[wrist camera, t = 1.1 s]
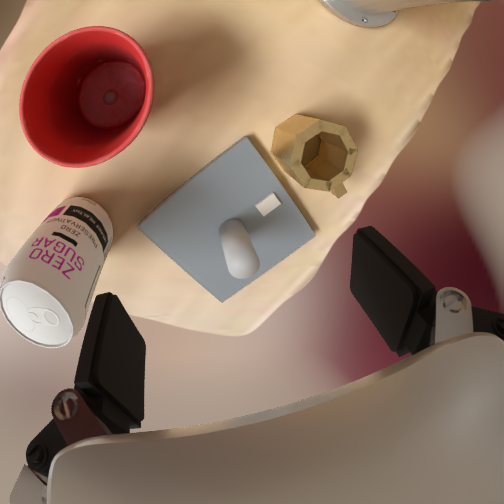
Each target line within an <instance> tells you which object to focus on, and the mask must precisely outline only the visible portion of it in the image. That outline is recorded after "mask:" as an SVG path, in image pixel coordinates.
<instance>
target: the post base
mask: <svg viewBox="0 0 504 504" xmlns="http://www.w3.org/2000/svg"><path fill="white" fill-rule="evenodd" d="M138 228H139V229H140V230H141V231H142V232H143V233H144V234H145V235H146V236H147V237H148V238H149V239H150V240H151V241H153V242H154V243H155V244H156V245H157V246H158V247H159V248H160V249H161V250H162V251H163V252H165V253H166V254H167V255H168V256H169V257H170V258H171V259H172V260H173V261H174V262H176V263H177V264H178V265H179V266H180V267H181V268H182V269H183V270H185V271H186V272H187V273H188V274H189V275H190V276H191V277H192V278H194V279H195V280H196V281H197V282H198V283H199V284H201V285H202V286H203V287H204V288H205V289H206V290H207V291H209V292H210V293H211V294H212V295H213V296H215V297H216V298H217V299H218V300H219V301H220V302H224V301H225V300H227V299H228V298H230V297H231V296H232V295H234V294H235V293H237V292H238V291H240V290H241V289H242V288H244V287H245V286H247V285H248V284H250V283H251V282H252V281H254V280H255V279H257V278H258V277H259V276H261V275H262V274H264V273H265V272H266V271H268V270H269V269H271V268H272V267H273V266H275V265H276V264H278V263H279V262H280V261H282V260H283V259H284V258H286V257H287V256H289V255H290V254H291V253H293V252H294V251H296V250H297V249H298V248H300V247H301V246H302V245H304V244H305V243H306V242H308V241H309V240H311V239H312V238H313V237H315V236H316V235H315V233H314V232H313V230H312V229H311V227H310V226H309V224H308V223H307V221H306V220H305V218H304V217H303V215H302V214H301V212H300V211H299V209H298V208H297V206H296V205H295V203H294V202H293V200H292V199H291V197H290V196H289V195H288V193H287V192H286V190H285V189H284V187H283V186H282V185H281V183H280V182H279V180H278V179H277V178H276V176H275V175H274V173H273V172H272V171H271V169H270V168H269V166H268V165H267V164H266V162H265V161H264V160H263V158H262V157H261V155H260V154H259V153H258V151H257V150H256V149H255V147H254V146H253V145H252V143H251V142H250V141H249V139H248V138H247V137H246V136H244V137H243V138H241V139H240V140H239V141H237V142H236V143H235V144H233V145H232V146H231V147H229V148H228V149H227V150H225V151H224V152H223V153H221V154H220V155H219V156H218V157H216V158H215V159H214V160H212V161H211V162H210V163H209V164H207V165H206V166H205V167H204V168H202V169H201V170H200V171H199V172H197V173H196V174H195V175H194V176H193V177H191V178H190V179H189V180H188V181H187V182H185V183H184V184H183V185H182V186H181V187H179V188H178V189H177V190H176V191H175V192H174V193H172V194H171V195H170V196H169V197H168V198H167V199H165V200H164V201H163V202H162V203H161V204H160V205H159V206H158V207H156V208H155V209H154V210H153V211H152V212H151V213H150V214H149V215H148V216H146V217H145V218H144V219H143V220H142V221H141V222H140V223H139V225H138Z"/></svg>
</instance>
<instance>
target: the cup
mask: <svg viewBox="0 0 504 504" xmlns="http://www.w3.org/2000/svg"><path fill="white" fill-rule="evenodd" d="M317 134H318V136H319V138H320V139H321V143H320V148H319V152H318V156H317V157H316V158H314V159H313V160H311V161H310V162H309V163H307V164H306V165H302V164H301V160H302V155H303V150H304V146H305V142H306V141H308V140H309V139H311V138H312V137H314V136H315V135H317ZM271 153H272V154H273V156H274V157H275V159H276V160H277V162H278V163H279V164H280V166H281V167H282V169H283V170H284V171H285V172H286V173H287V174H288V175H290V176H291V177H292V178H293V179H294V180H296V181H297V182H298V183H299V184H300V185H301V186H303V187H304V188H308V189H315V190H322V191H329V192H330V191H331V193H332V194H333V195H335V196H336V197H337V198H340V197H341V196H343V195H344V194H345V193H347V191H346V189H345V187H344V185H343V183H342V182H343V181H345V180H346V179H347V178H349V177H350V176H351V174H352V170H353V166H354V162H355V158H356V154H357V148H356V146H355V144H354V142H353V140H352V138H351V136H350V134H349V132H348V130H347V128H346V126H342V125H339V124H335V123H331V122H328V121H324V120H320V119H316V118H311V117H307V116H302V115H298V114H295V115H293V116H292V117H290V118H289V119H287V120H286V121H284V122H283V123H282V124H280V125H279V126H277V127H276V128H275V132H274V137H273V143H272V148H271Z"/></svg>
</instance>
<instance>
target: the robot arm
mask: <svg viewBox="0 0 504 504" xmlns="http://www.w3.org/2000/svg"><path fill="white" fill-rule="evenodd" d="M319 1H320V2H321V3H322V4H323V5H324V6H325V7H326V8H327V9H328V10H329V11H331V12H332V13H333V14H334V15H336V16H338V17H339V18H341V19H342V20H344V21H347V22H349V23H351V24H354V25H357V26H361V27H367V28H369V27H379V26H383V25H386V24H388V23H390V22H391V21H392V20H393V19H394V18H395V17H396V15H397V13H398V10H401V9H406V8H412V7H418V6H424V5H432V4H440V3H451V2H468V1H491V0H319ZM352 252H353V253H352V267H351V280H350V289H351V292H352V294H353V295H354V297H355V298H356V300H357V301H358V302H359V304H360V305H361V307H362V308H363V310H364V311H365V312H366V314H367V315H368V317H369V318H370V320H371V321H372V323H373V324H374V325H375V327H376V328H377V330H378V331H379V333H380V334H381V335H382V337H383V339H384V340H385V342H386V343H387V345H388V346H389V348H390V349H391V351H393V352H395V351H396V353H397V354H398V356H399V357H401V356H403V355H405V354H407V353H409V352H411V354H412V356H410V357H408V358H406V359H404V360H402V361H400V362H397V363H395V364H393V365H391V366H389V367H386V368H384V369H382V370H380V371H378V372H375V373H373V374H371V375H369V376H366V377H364V378H361V379H359V380H357V381H354V382H352V383H349V384H346V385H344V386H341V387H339V388H336V389H333V390H330V391H328V392H325V393H322V394H320V395H317V396H313V397H310V398H307V399H305V400H301V401H298V402H295V403H291V404H288V405H285V406H281V407H278V408H274V409H270V410H267V411H263V412H259V413H255V414H251V415H246V416H242V417H238V418H233V419H229V420H224V421H218V422H213V423H208V424H202V425H196V426H189V427H183V428H175V429H167V430H158V431H149V432H138V433H130V429H134V428H141V421H142V420H143V419H144V379H145V354H146V345H145V341H144V339H143V337H142V336H141V335H140V333H139V331H138V330H137V328H136V327H135V325H134V323H133V322H132V320H131V318H130V317H129V315H128V313H127V312H126V310H125V308H124V307H123V305H122V303H121V302H120V300H119V298H118V297H117V295H113V294H112V293H111V292H108V293H104V294H99V295H97V296H96V298H95V301H94V304H93V308H92V311H91V315H90V318H89V322H88V325H87V329H86V333H85V336H84V340H83V345H82V349H81V353H80V357H79V361H78V366H77V371H76V376H75V381H74V383H75V387H74V389H71V388H67V389H64V390H62V391H61V392H59V393H58V394H57V395H56V397H55V398H54V400H53V402H52V406H51V413H52V416H53V419H52V421H51V422H50V423H49V424H48V425H47V426H46V427H45V428H44V429H43V430H42V431H41V432H40V433H39V434H38V435H37V436H36V437H35V438H34V439H33V440H32V441H31V442H30V444H29V445H28V447H27V450H26V459H27V463H28V466H27V465H25V464H24V467H23V468H22V471H21V472H20V475H19V477H18V479H17V481H16V483H15V485H14V488H13V490H12V492H11V495H10V504H504V314H502V313H498V312H494V311H489V310H485V309H481V308H477V307H473V306H471V303H470V300H469V298H468V297H467V295H466V294H465V293H463V292H462V291H460V290H459V289H456V288H451V287H450V288H449V287H447V288H443V289H442V290H440V291H439V292H437V291H436V290H435V286H434V285H433V284H432V283H431V282H430V281H429V280H428V278H426V277H425V275H424V274H423V273H422V272H421V271H420V270H419V269H418V268H416V266H415V265H413V264H412V263H411V262H410V261H409V260H408V259H407V258H406V257H405V256H404V255H403V254H402V253H401V252H400V251H399V250H398V249H397V248H396V247H395V246H394V245H392V244H391V243H390V242H389V241H388V240H387V239H386V238H385V237H384V236H382V235H381V234H380V233H379V232H378V231H377V230H376V229H375V228H374V227H372V226H368V227H364V228H360V229H358V230H357V232H356V234H354V237H353V251H352Z"/></svg>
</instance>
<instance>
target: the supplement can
mask: <svg viewBox="0 0 504 504" xmlns="http://www.w3.org/2000/svg"><path fill="white" fill-rule="evenodd" d="M112 239H113V228H112V223H111V221H110V219H109V217H108V214H107V213H106V212H105V211H104V209H103V208H102V207H101V206H100V205H99V204H97V203H96V202H94V201H92V200H90V199H88V198H82V197H73V198H69V199H66V200H64V201H63V202H62V203H61V204H59V205H58V206H57V207H56V208H55V209H54V210H53V211H52V212H51V213H50V215H49V216H48V217H47V218H46V219H45V220H44V221H43V222H42V223H41V225H40V226H39V227H38V228H37V229H36V230H35V232H34V233H33V234H32V235H31V236H30V238H29V239H28V240H27V241H26V242H25V244H24V245H23V246H22V247H21V249H20V250H19V251H18V253H17V254H16V255H15V256H14V258H13V259H12V260H11V262H10V263H9V265H8V266H7V267H6V269H5V270H4V272H3V275H2V279H1V283H0V309H1V311H2V313H3V315H4V317H5V319H6V321H7V322H8V323H9V325H10V326H11V327H12V328H13V329H14V330H15V332H17V333H18V334H19V335H20V336H22V337H23V338H25V339H26V340H28V341H30V342H31V343H33V344H35V345H38V346H42V347H46V348H60V347H62V346H64V345H66V344H68V342H69V341H70V339H72V338H73V337H74V336H76V335H77V334H78V332H79V331H80V330H81V328H82V327H83V325H84V322H85V318H86V315H87V311H88V308H89V305H90V302H91V299H92V296H93V293H94V290H95V287H96V284H97V281H98V278H99V276H100V273H101V270H102V267H103V265H104V262H105V260H106V257H107V254H108V252H109V249H110V247H111V243H112Z"/></svg>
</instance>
